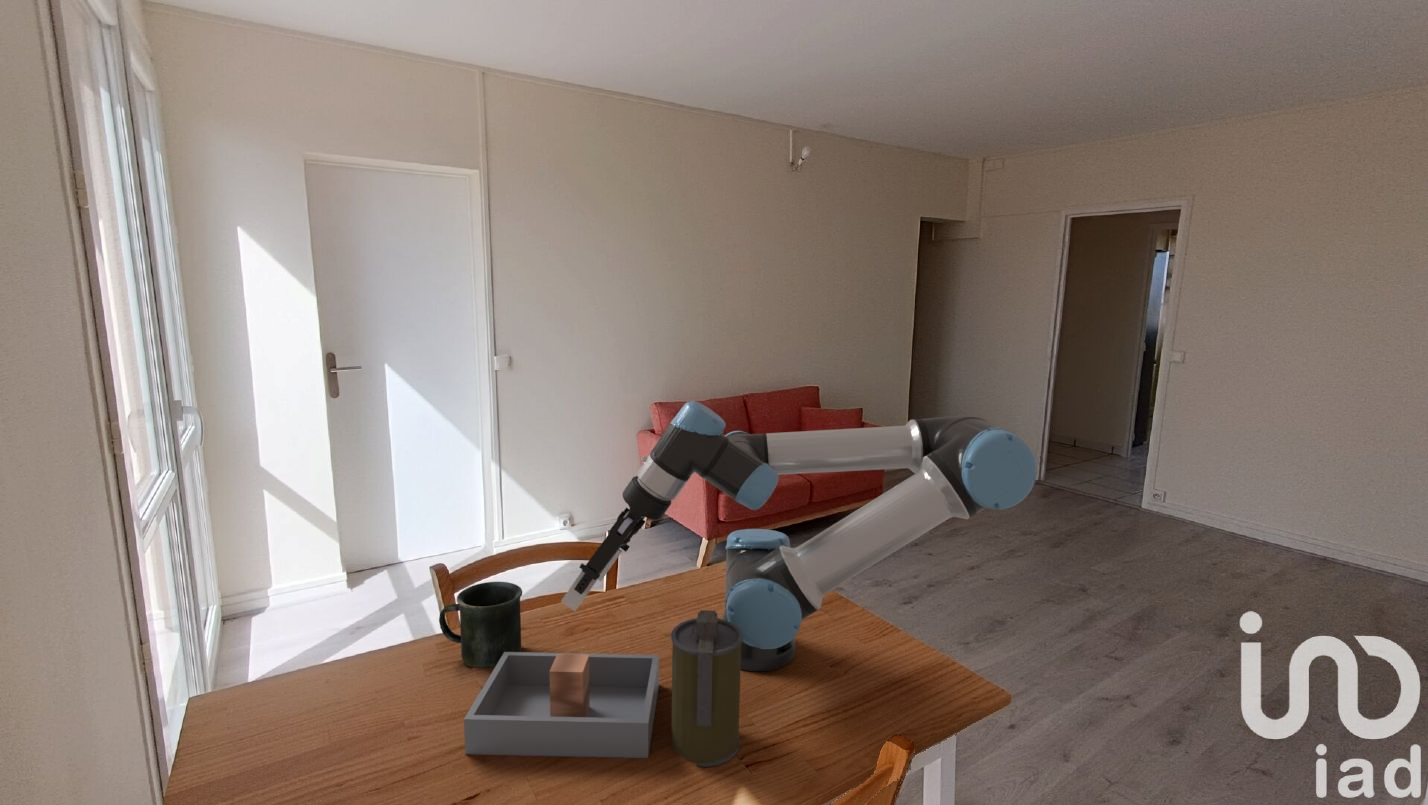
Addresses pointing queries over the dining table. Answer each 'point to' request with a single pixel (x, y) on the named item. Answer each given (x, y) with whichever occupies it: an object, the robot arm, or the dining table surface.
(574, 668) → the block
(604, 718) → the bin
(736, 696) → the canister
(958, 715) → the dining table surface
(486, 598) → the mug
